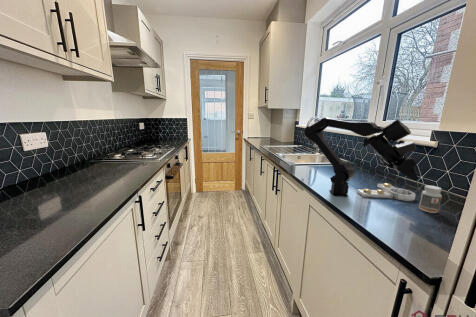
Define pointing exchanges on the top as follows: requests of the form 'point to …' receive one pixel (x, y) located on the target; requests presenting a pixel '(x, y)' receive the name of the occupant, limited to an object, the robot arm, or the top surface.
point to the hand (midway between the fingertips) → (410, 176)
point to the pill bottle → (430, 199)
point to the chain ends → (388, 192)
